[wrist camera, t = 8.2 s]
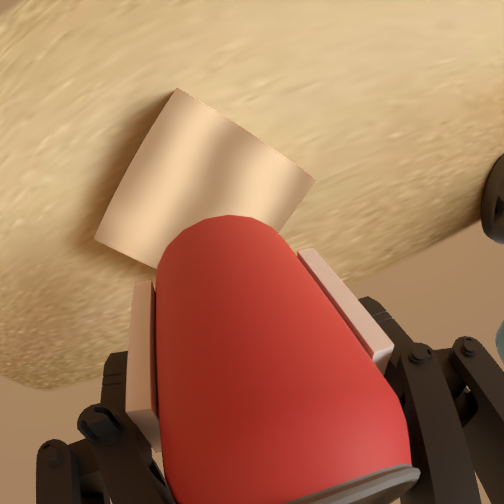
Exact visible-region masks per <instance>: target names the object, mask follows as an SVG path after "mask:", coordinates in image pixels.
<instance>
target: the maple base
mask: <svg viewBox="0 0 504 504" xmlns="http://www.w3.org/2000/svg"><path fill="white" fill-rule="evenodd" d="M315 181H316V179H315V178H313V177H312V176H311V175H309V174H308V173H307V172H305V171H304V170H302V169H301V168H300V167H298V166H297V165H296V164H294V163H293V162H291V161H290V160H289V159H287V158H286V157H284V156H283V155H282V154H280V153H279V152H277V151H276V150H274V149H273V148H272V147H270V146H269V145H267V144H266V143H264V142H263V141H261V140H260V139H258V138H257V137H255V136H254V135H252V134H251V133H249V132H248V131H246V130H245V129H243V128H242V127H240V126H239V125H237V124H236V123H234V122H233V121H231V120H229V119H228V118H226V117H225V116H223V115H222V114H220V113H218V112H217V111H215V110H214V109H212V108H210V107H209V106H207V105H205V104H204V103H202V102H200V101H199V100H197V99H195V98H194V97H192V96H190V95H189V94H187V93H185V92H184V91H182V90H180V89H178V88H176V90H175V91H174V93H173V94H172V96H171V97H170V99H169V100H168V102H167V103H166V105H165V106H164V108H163V110H162V111H161V113H160V114H159V116H158V117H157V119H156V121H155V122H154V124H153V126H152V127H151V129H150V130H149V132H148V134H147V135H146V137H145V139H144V141H143V142H142V144H141V146H140V147H139V149H138V151H137V153H136V154H135V156H134V158H133V160H132V162H131V163H130V165H129V167H128V169H127V171H126V173H125V175H124V176H123V178H122V180H121V182H120V184H119V186H118V188H117V190H116V192H115V194H114V196H113V198H112V200H111V202H110V204H109V206H108V208H107V210H106V212H105V214H104V216H103V219H102V221H101V223H100V225H99V227H98V230H97V232H96V234H95V236H94V238H93V239H94V240H96V241H98V242H100V243H102V244H104V245H106V246H108V247H110V248H112V249H115V250H117V251H119V252H121V253H123V254H125V255H127V256H129V257H131V258H133V259H135V260H138V261H140V262H142V263H144V264H146V265H148V266H150V267H153V268H155V269H157V266H158V263H159V261H160V259H161V257H162V255H163V253H164V251H165V249H166V247H167V246H168V245H169V244H170V243H171V242H172V241H173V240H174V239H175V238H176V237H177V236H178V235H179V234H180V233H181V232H182V231H183V230H184V229H186V228H188V227H190V226H192V225H194V224H196V223H198V222H200V221H202V220H204V219H207V218H212V217H218V216H223V215H237V216H245V217H252V218H254V219H256V220H259V221H261V222H263V223H265V224H267V225H269V226H271V227H272V228H273V229H274V230H275V231H276V232H277V233H279V232H280V230H281V229H282V227H283V226H284V225H285V223H286V222H287V220H288V219H289V218H290V216H291V215H292V214H293V212H294V211H295V209H296V208H297V207H298V205H299V204H300V202H301V201H302V200H303V198H304V197H305V195H306V194H307V193H308V191H309V190H310V188H311V187H312V186H313V184H314V183H315Z"/></svg>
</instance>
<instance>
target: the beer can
mask: <svg viewBox="0 0 504 504" xmlns="http://www.w3.org/2000/svg"><path fill="white" fill-rule="evenodd" d="M155 336H156V374H157V395H158V411H159V427H160V438H161V449H162V458H163V467H164V475H165V480H166V482H167V485H168V487H169V490H170V492H171V495H172V497H173V499H174V501H175V503H176V504H390V503H392V502H393V501H395V500H396V499H398V498H399V497H401V496H402V495H404V494H405V493H406V492H407V491H409V490H410V489H411V488H412V487H413V486H414V485H415V484H416V483H417V481H418V478H419V476H420V473H421V472H420V470H419V469H418V468H414V467H412V464H411V453H410V444H409V436H408V430H407V423H406V419H405V416H404V413H403V410H402V407H401V405H400V402H399V399H398V397H397V395H396V394H395V392H394V391H393V389H392V388H391V386H390V385H389V383H388V382H387V381H386V379H385V378H384V376H383V375H382V373H381V372H380V370H379V369H378V368H377V366H376V365H375V363H374V362H373V360H372V359H371V358H370V356H369V355H368V353H367V352H366V351H365V349H364V348H363V346H362V345H361V343H360V342H359V341H358V339H357V338H356V336H355V335H354V334H353V332H352V331H351V329H350V328H349V327H348V325H347V324H346V322H345V321H344V320H343V318H342V317H341V316H340V314H339V313H338V311H337V310H336V309H335V307H334V306H333V305H332V303H331V302H330V300H329V299H328V298H327V296H326V295H325V294H324V292H323V291H322V289H321V288H320V287H319V285H318V284H317V283H316V281H315V280H314V279H313V277H312V276H311V275H310V273H309V272H308V271H307V269H306V268H305V267H304V265H303V264H302V263H301V261H300V260H299V259H298V257H297V256H296V255H295V253H294V252H293V251H292V249H291V248H290V247H289V245H288V244H287V243H286V241H285V240H284V239H283V238H282V237H281V236H280V235H279V234H278V233H277V232H276V231H275V230H274V229H273V228H272V227H271V226H269V225H267V224H265V223H263V222H261V221H259V220H256V219H254V218H252V217H245V216H237V215H223V216H218V217H212V218H207V219H204V220H202V221H200V222H198V223H196V224H194V225H192V226H190V227H188V228H186V229H184V230H183V231H182V232H181V233H180V234H179V235H178V236H177V237H176V238H175V239H174V240H173V241H172V242H171V243H170V244H169V245H168V246H167V247H166V249H165V251H164V253H163V255H162V257H161V259H160V261H159V263H158V266H157V275H156V301H155Z"/></svg>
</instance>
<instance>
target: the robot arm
mask: <svg viewBox="0 0 504 504" xmlns="http://www.w3.org/2000/svg"><path fill="white" fill-rule="evenodd" d="M481 222H482V227H483V230H484V233H485V234H486V235H487V236H488V237H489V238H491V239H492V240H494V241H495V242H497V243H500V244H504V155H503V156H502V157H501V158H500V159H499V160H498V161H497V163H496V164H495V166H494V168H493V170H492V172H491V174H490V176H489V178H488V181H487V184H486V187H485V191H484V195H483V200H482V208H481ZM297 257H298V259H299V260H300V261H301V263H302V264H303V265H304V267H305V268H306V269H307V271H308V272H309V273H310V275H311V276H312V277H313V279H314V280H315V281H316V283H317V284H318V285H319V287H320V288H321V289H322V291H323V292H324V294H325V295H326V296H327V298H328V299H329V300H330V302H331V303H332V305H333V306H334V307H335V309H336V310H337V311H338V313H339V314H340V316H341V317H342V318H343V320H344V321H345V322H346V324H347V325H348V327H349V328H350V329H351V331H352V332H353V334H354V335H355V336H356V338H357V339H358V341H359V342H360V343H361V345H362V346H363V348H364V349H365V351H366V352H367V353H368V355H369V356H370V358H371V359H372V360H373V362H374V363H375V365H376V366H377V368H378V369H379V370H380V372H381V373H382V375H383V376H384V378H385V379H386V381H387V382H388V383H389V385H390V386H391V388H392V389H393V391H394V392H395V394H396V395H397V397H398V399H399V402H400V405H401V407H402V410H403V413H404V416H405V419H406V423H407V430H408V436H409V444H410V453H411V464H412V467H414V468H418V469H419V470H420V472H421V473H420V476H419V478H418V481H417V483H416V484H415V485H414V486H413V487H412V488H411V489H410V490H409V491H407V492H406V493H405V494H404V495H402V496H401V497H400V501H401V504H481V499H480V494H479V489H478V485H477V481H476V476H475V472H476V474H477V476H478V478H479V480H480V482H481V483H482V486H483V488H484V489H485V492H486V494H487V496H488V498H489V500H490V502H491V504H504V372H503V371H502V369H501V368H500V367H499V365H498V364H497V363H496V361H494V359H493V358H492V357H491V355H490V354H489V353H488V352H487V350H486V349H485V348H484V347H483V346H482V344H481V343H480V342H479V341H477V340H476V339H474V338H472V337H466V336H464V337H459V338H458V339H456V340H455V343H454V345H453V347H452V348H447V349H440V350H432V349H431V348H430V347H429V346H428V345H425V344H422V343H414V342H413V341H412V340H411V338H410V337H409V336H408V335H407V334H406V333H405V332H404V330H403V329H402V328H401V327H400V326H399V325H398V323H397V322H396V321H395V320H394V319H392V317H391V316H390V314H389V313H388V312H386V310H385V309H384V308H383V306H382V305H381V304H380V303H379V302H377V301H375V300H374V299H372V298H370V297H368V296H367V297H364V298H361V299H358V300H357V298H356V297H355V296H354V295H353V294H352V292H351V291H350V290H349V289H348V288H347V287H346V285H345V284H344V283H343V282H342V281H341V279H340V278H339V277H338V276H337V275H336V274H335V272H334V271H333V270H332V269H331V268H330V267H329V266H328V264H327V263H326V262H325V261H324V260H323V259H322V257H321V256H320V255H319V254H318V253H317V252H316V251H315V249H314V248H308V249H303V250H298V251H297ZM155 301H156V293H155V290H154V286H153V283H152V280H151V279H150V280H145V281H140V282H135V285H134V293H133V301H132V311H131V321H130V332H129V345H128V351H124V352H117V353H111V354H110V356H109V357H108V359H107V361H106V362H105V364H104V373H103V376H104V378H103V382H102V385H103V387H102V391H101V403H99V404H95V405H91V406H89V407H87V408H86V409H84V411H83V412H82V413H81V414H80V416H79V418H78V421H77V429H78V430H79V431H80V432H81V433H82V434H83V435H84V436H85V439H83V440H80V441H77V442H75V443H72V444H69V445H67V444H66V443H64V442H63V441H61V440H56V439H52V440H49V441H46V442H45V443H44V444H43V445H42V446H41V447H40V449H39V450H38V454H37V462H36V503H37V504H110V499H111V501H112V503H113V504H176V503H175V501H174V499H173V497H172V495H171V492H170V490H169V487H168V485H167V482H166V481H165V479H164V477H163V475H162V473H161V471H160V469H159V467H158V466H157V464H156V462H155V461H154V460H153V458H152V450H151V447H152V448H153V449H154V451H155V452H156V453H157V452H162V449H161V438H160V427H159V411H158V395H157V374H156V336H155ZM495 341H496V347H497V351H498V354H499V356H500V358H501V360H502V362H503V364H504V321H503V322H502V324H501V326H500V327H499V329H498V331H497V333H496V339H495ZM466 386H468V388H469V389H470V391H469V390H468V389H467V388H466ZM474 470H475V472H474ZM109 496H110V497H109Z"/></svg>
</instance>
